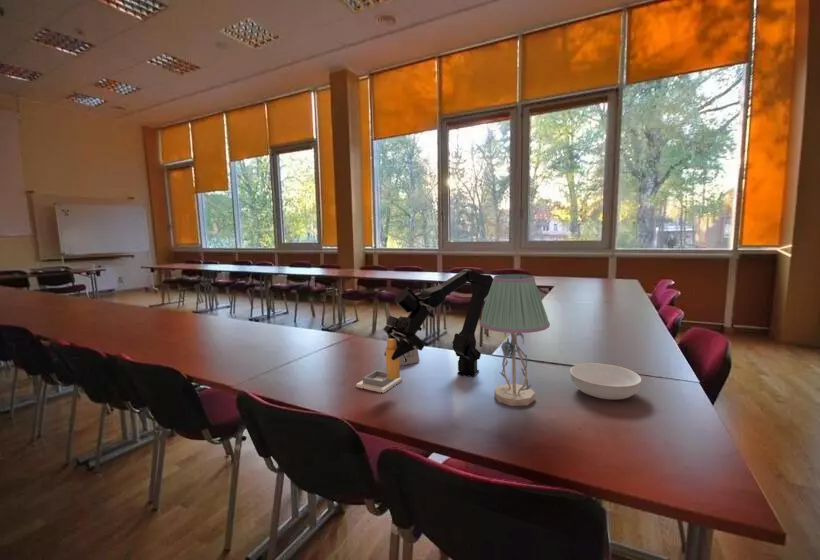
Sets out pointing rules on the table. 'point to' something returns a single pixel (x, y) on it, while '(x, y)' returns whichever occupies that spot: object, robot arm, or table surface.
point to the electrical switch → (409, 357)
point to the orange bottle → (392, 365)
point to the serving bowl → (605, 380)
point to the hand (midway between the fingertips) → (388, 357)
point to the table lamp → (514, 327)
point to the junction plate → (378, 382)
